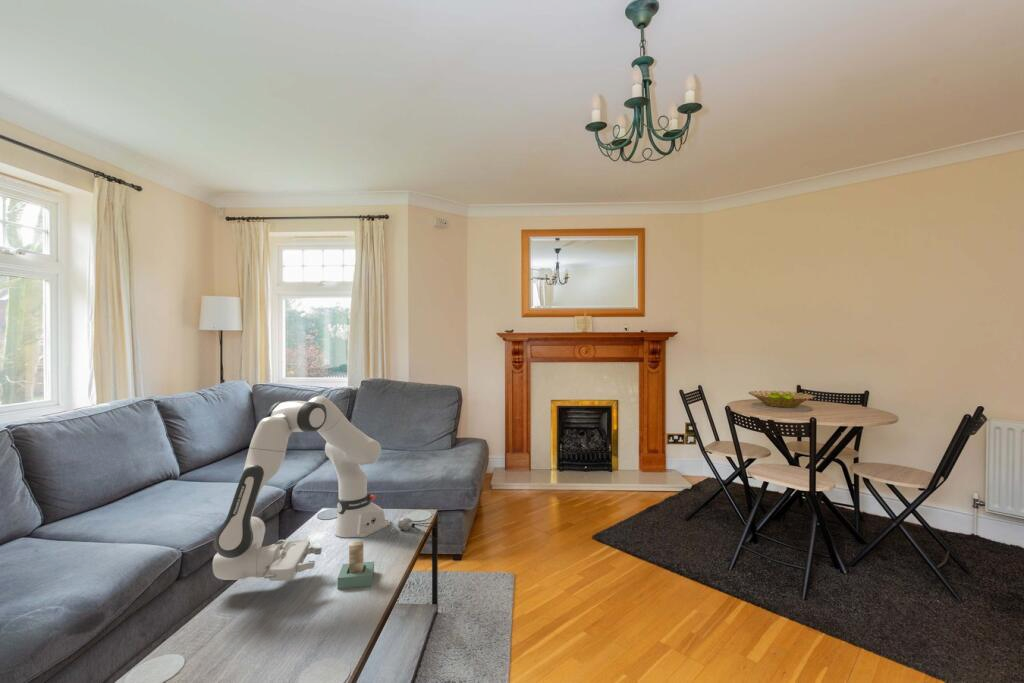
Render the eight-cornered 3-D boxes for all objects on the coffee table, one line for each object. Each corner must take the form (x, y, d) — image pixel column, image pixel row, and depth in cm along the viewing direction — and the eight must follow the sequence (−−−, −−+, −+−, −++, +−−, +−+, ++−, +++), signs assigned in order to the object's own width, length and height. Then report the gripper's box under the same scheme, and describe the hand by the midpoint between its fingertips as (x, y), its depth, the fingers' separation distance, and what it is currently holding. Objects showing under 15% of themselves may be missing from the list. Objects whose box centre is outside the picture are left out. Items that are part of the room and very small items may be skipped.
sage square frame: (337, 589, 140) (337, 578, 140) (342, 574, 149) (342, 564, 149) (370, 585, 142) (370, 575, 142) (373, 571, 151) (373, 561, 151)
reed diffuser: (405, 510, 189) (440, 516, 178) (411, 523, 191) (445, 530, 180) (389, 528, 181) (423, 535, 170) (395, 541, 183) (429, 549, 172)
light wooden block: (349, 583, 144) (349, 546, 144) (350, 578, 147) (350, 542, 147) (362, 582, 144) (362, 545, 144) (363, 577, 147) (363, 541, 147)
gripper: (259, 567, 130) (309, 563, 133) (281, 537, 151) (325, 534, 153) (259, 588, 130) (309, 584, 133) (281, 556, 151) (325, 552, 153)
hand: (317, 557), depth 143 cm, fingers open, 8 cm apart
